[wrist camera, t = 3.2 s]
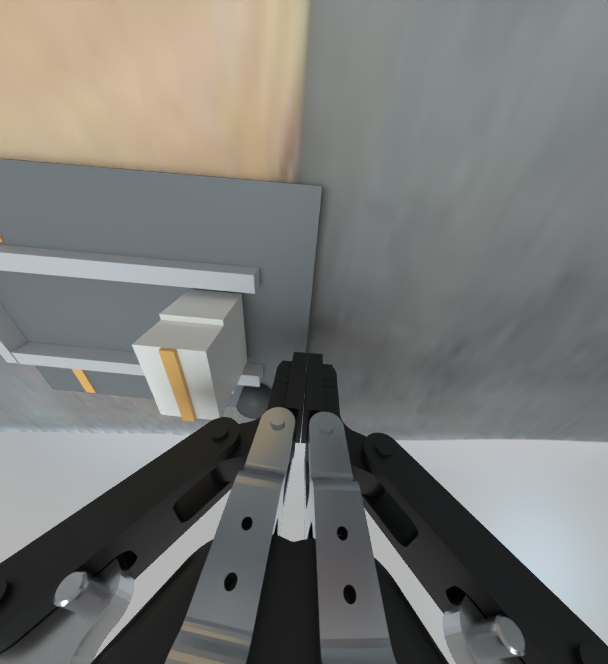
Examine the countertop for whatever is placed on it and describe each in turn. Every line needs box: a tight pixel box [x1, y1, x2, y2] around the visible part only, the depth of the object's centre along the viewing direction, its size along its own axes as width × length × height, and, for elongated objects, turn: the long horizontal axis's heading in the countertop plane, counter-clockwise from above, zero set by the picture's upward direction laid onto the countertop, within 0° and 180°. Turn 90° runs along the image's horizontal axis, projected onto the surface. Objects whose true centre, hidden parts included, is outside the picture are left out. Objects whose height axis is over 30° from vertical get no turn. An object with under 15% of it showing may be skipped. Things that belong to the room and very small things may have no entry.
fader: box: [132, 289, 247, 422], centre depth 12 cm, size 3×5×5 cm, turn 176°
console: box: [0, 159, 322, 419], centre depth 15 cm, size 21×16×4 cm
